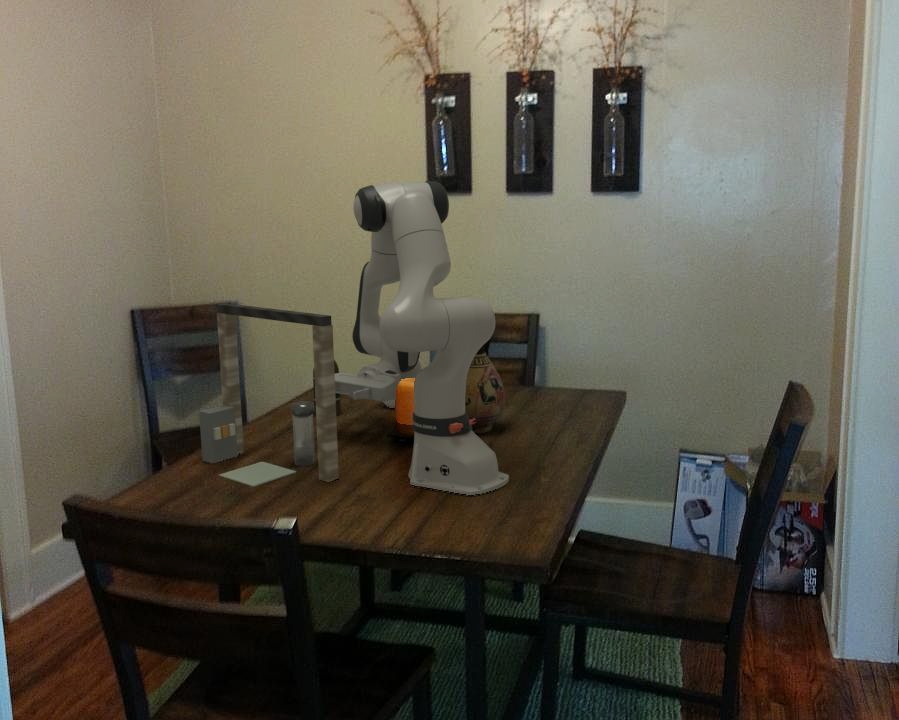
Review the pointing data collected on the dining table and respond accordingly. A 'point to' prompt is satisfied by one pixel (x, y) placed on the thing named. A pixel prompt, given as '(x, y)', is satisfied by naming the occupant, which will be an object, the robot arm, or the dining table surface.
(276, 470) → the sage mat
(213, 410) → the breaker box
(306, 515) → the dining table surface
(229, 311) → the arch
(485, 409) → the ceramic jug
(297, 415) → the frosted spice bottle
